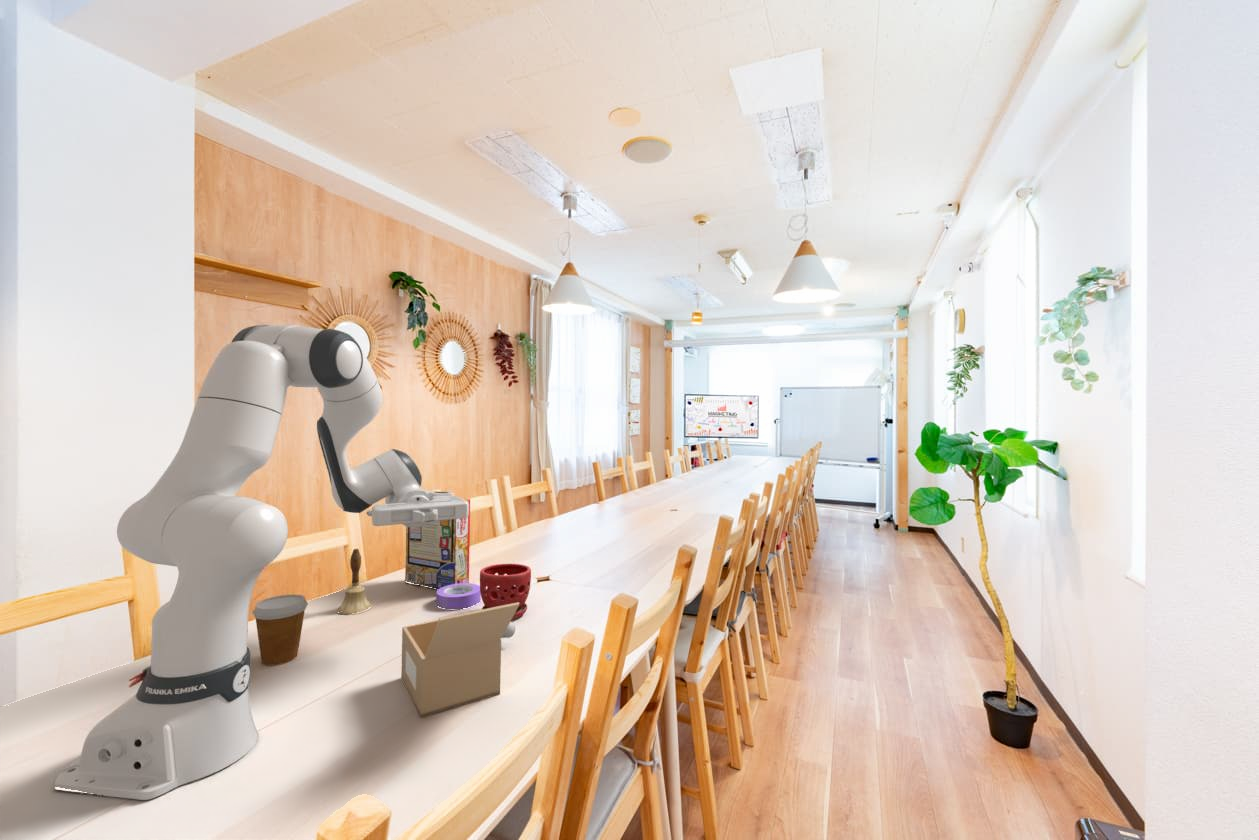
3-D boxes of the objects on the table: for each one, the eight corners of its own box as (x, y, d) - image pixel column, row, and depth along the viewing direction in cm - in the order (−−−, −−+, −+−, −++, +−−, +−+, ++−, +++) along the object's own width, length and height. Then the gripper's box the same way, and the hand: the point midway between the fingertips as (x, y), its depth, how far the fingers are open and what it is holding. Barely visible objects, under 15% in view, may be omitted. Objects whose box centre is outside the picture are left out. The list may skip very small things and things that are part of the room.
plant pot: (538, 617, 132) (539, 571, 132) (488, 628, 124) (489, 579, 124) (519, 601, 142) (520, 559, 142) (472, 610, 135) (473, 565, 135)
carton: (400, 678, 99) (401, 627, 99) (472, 659, 108) (473, 612, 108) (420, 718, 86) (421, 659, 86) (500, 693, 94) (501, 640, 94)
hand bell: (378, 607, 136) (379, 548, 136) (347, 617, 129) (348, 554, 129) (361, 601, 140) (362, 543, 140) (330, 610, 133) (331, 549, 133)
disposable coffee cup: (246, 658, 106) (248, 601, 106) (299, 644, 113) (300, 590, 113) (257, 674, 100) (258, 613, 100) (312, 658, 107) (313, 601, 107)
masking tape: (427, 608, 137) (427, 594, 137) (452, 594, 148) (452, 581, 148) (465, 613, 134) (466, 598, 134) (488, 598, 145) (488, 584, 145)
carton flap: (439, 618, 79) (440, 620, 79) (518, 602, 87) (519, 604, 87) (424, 657, 87) (425, 659, 86) (499, 639, 94) (499, 641, 94)
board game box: (469, 588, 153) (471, 498, 153) (454, 594, 147) (456, 501, 147) (419, 578, 161) (421, 493, 161) (403, 584, 155) (405, 495, 155)
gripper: (365, 497, 113) (375, 506, 101) (458, 491, 125) (477, 499, 113) (364, 525, 113) (375, 538, 101) (457, 517, 125) (476, 527, 113)
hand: (429, 517), depth 107 cm, fingers closed
